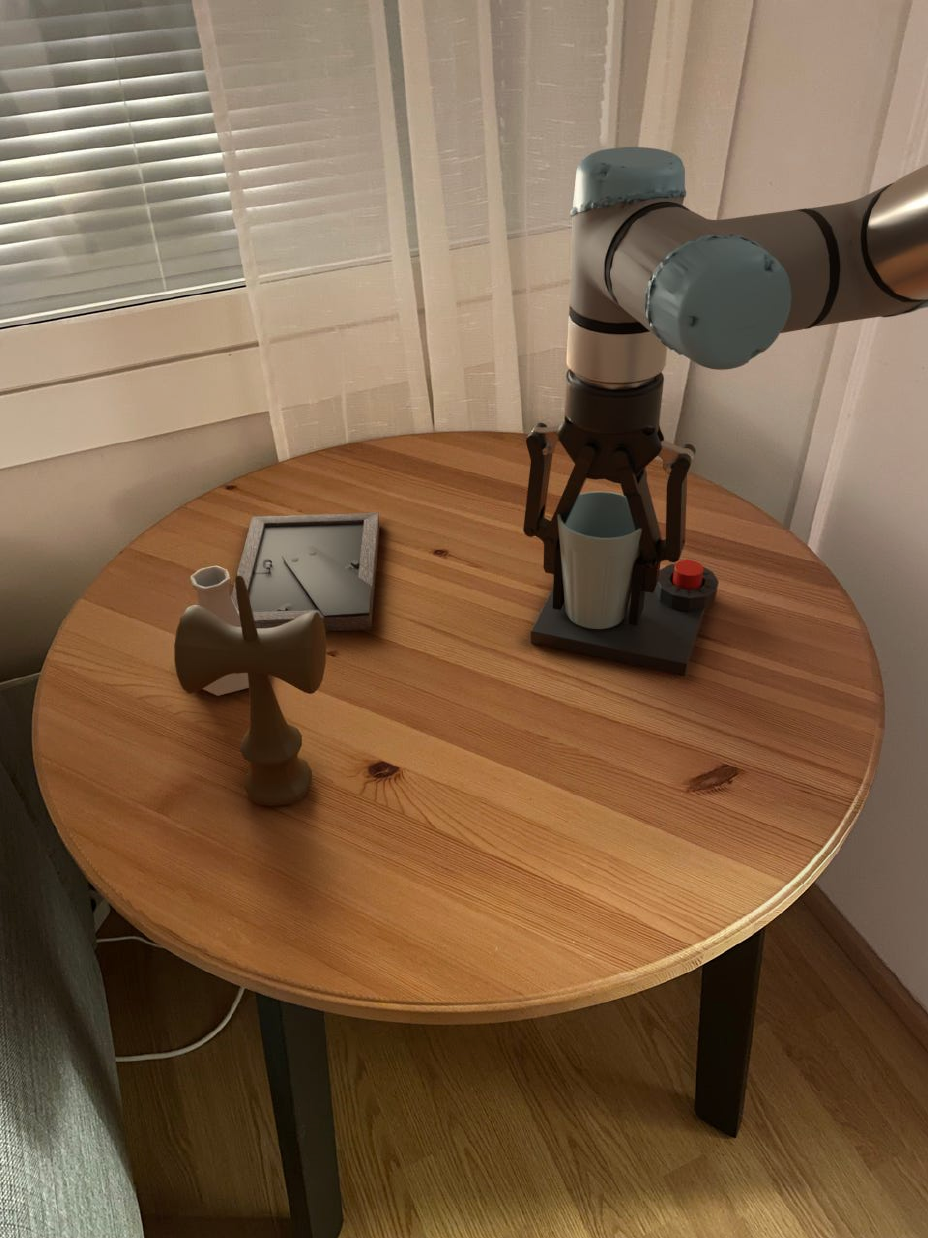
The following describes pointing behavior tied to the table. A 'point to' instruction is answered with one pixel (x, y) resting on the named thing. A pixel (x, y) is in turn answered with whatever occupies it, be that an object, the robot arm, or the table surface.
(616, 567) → the cup
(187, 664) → the kendama
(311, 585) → the picture frame
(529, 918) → the table surface
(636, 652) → the scale
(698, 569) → the button
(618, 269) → the robot arm
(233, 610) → the flask
